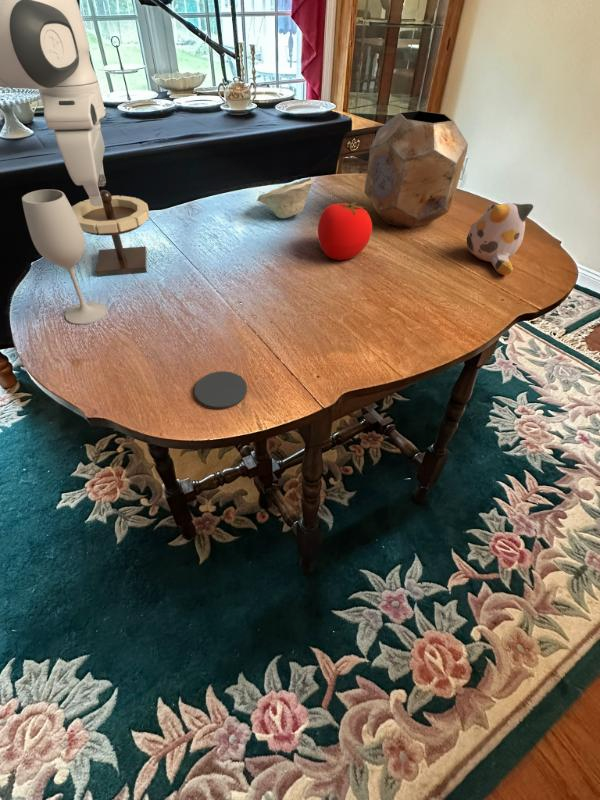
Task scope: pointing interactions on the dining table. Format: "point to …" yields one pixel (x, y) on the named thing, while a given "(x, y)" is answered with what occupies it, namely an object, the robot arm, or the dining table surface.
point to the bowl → (287, 198)
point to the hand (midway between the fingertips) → (99, 194)
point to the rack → (117, 243)
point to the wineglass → (60, 243)
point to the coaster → (220, 390)
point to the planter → (415, 168)
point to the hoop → (112, 225)
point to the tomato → (344, 230)
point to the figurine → (499, 234)
